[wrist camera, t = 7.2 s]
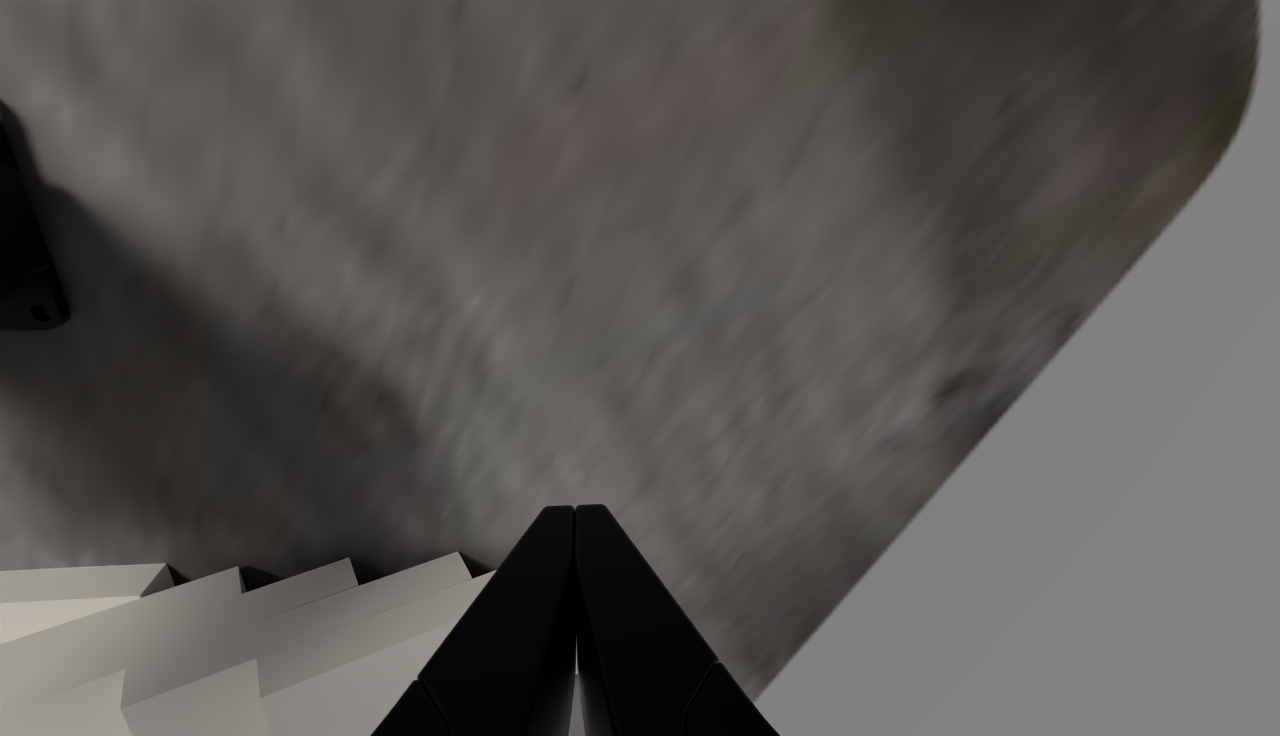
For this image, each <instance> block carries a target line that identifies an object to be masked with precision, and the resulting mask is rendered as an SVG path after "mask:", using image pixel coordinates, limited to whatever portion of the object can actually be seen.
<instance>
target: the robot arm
mask: <svg viewBox="0 0 1280 736" xmlns="http://www.w3.org/2000/svg"><path fill="white" fill-rule="evenodd" d="M41 306H43V307H45V308H46V309H48V311H49V312H50V314H51V317H50V316H48V315H46V314H45V313H44V312H43V310H42V309H41ZM69 317H70V309H69V306H68V303H67V301H66V298H65V295H64V293H63V290H62V287H61V284H60V282H59V279H58V276H57V274H56V271H55V268H54V265H53V263H52V260H51V257H50V254H49V252H48V249H47V246H46V244H45V241H44V238H43V235H42V233H41V230H40V227H39V225H38V222H37V219H36V216H35V214H34V211H33V208H32V206H31V203H30V200H29V198H28V195H27V192H26V189H25V187H24V184H23V181H22V179H21V176H20V174H19V171H18V168H17V165H16V163H15V160H14V157H13V155H12V152H11V149H10V147H9V144H8V141H7V138H6V136H5V133H4V130H3V128H2V125H1V122H0V330H49V329H54V328H56V327H58V326H60V325H62V324H64V323H65V322H67V321H68V320H69ZM576 642H577V670H578V681H579V690H580V698H581V705H582V713H583V721H584V729H585V736H780V735H779V734H778V733H777V732H776V731H775V730H774V729H773V727H772V726H771V725H770V724H769V723H768V722H767V721H766V720H765V718H764V717H763V716H762V715H761V713H760V712H759V711H758V709H757V708H756V707H755V706H754V704H753V703H752V702H751V701H750V699H749V698H748V697H747V696H746V694H745V693H744V692H743V690H742V689H741V688H740V687H739V685H738V684H737V683H736V681H735V680H734V679H733V677H732V676H731V674H730V673H729V672H728V670H727V669H726V668H725V666H724V665H723V664H722V663H720V662H719V659H718V657H717V656H716V655H715V653H714V652H713V651H712V649H711V648H710V646H709V645H708V644H707V642H706V641H705V640H704V638H703V637H702V636H701V634H700V633H699V632H698V630H697V629H696V628H695V626H694V625H693V623H692V622H691V621H690V619H689V618H688V617H687V615H686V614H685V613H684V611H683V610H682V609H681V607H680V606H679V605H678V603H677V602H676V600H675V599H674V598H673V596H672V595H671V594H670V592H669V591H668V590H667V588H666V587H665V586H664V584H663V583H662V582H661V580H660V579H659V577H658V576H657V575H656V573H655V572H654V571H653V569H652V568H651V567H650V565H649V564H648V563H647V561H646V560H645V559H644V557H643V556H642V554H641V553H640V552H639V550H638V549H637V548H636V546H635V545H634V544H633V542H632V541H631V540H630V538H629V537H628V536H627V534H626V533H625V531H624V530H623V529H622V527H621V526H620V525H619V523H618V522H617V521H616V519H615V518H614V517H613V515H612V514H611V513H610V511H609V510H608V509H607V507H606V506H605V505H603V504H592V505H578V506H577V507H576V509H575V510H574V508H573V507H572V506H570V505H564V506H546V507H545V508H543V510H542V511H541V512H540V514H539V515H538V516H537V518H536V519H535V520H534V522H533V523H532V524H531V526H530V527H529V528H528V529H527V531H526V532H525V533H524V535H523V536H522V537H521V539H520V540H519V541H518V543H517V544H516V545H515V547H514V548H513V549H512V551H511V552H510V553H509V555H508V556H507V557H506V559H505V560H504V561H503V563H502V564H501V565H500V567H499V568H498V569H497V571H496V572H495V573H494V575H493V576H492V577H491V579H490V580H489V581H488V583H487V584H486V585H485V587H484V588H483V589H482V590H481V592H480V593H479V594H478V596H477V597H476V598H475V600H474V601H473V602H472V604H471V605H470V606H469V608H468V609H467V610H466V612H465V613H464V614H463V616H462V617H461V618H460V620H459V621H458V622H457V624H456V625H455V626H454V628H453V629H452V630H451V632H450V633H449V634H448V636H447V637H446V638H445V640H444V641H443V642H442V643H441V645H440V646H439V647H438V649H437V650H436V651H435V653H434V654H433V655H432V657H431V658H430V659H429V661H428V662H427V663H426V665H425V666H424V667H423V669H422V670H421V671H420V673H419V674H418V676H417V680H414V681H412V683H411V684H410V685H409V687H408V688H407V689H406V691H405V692H404V693H403V695H402V696H401V697H400V699H399V700H398V701H397V703H396V704H395V705H394V707H393V708H392V709H391V710H390V712H389V713H388V714H387V715H386V717H385V718H384V719H383V720H382V722H381V723H380V724H379V725H378V727H377V728H376V729H375V730H374V732H373V733H372V734H371V735H370V736H568V734H569V726H570V718H571V710H572V701H573V693H574V684H575V673H576Z"/></svg>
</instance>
